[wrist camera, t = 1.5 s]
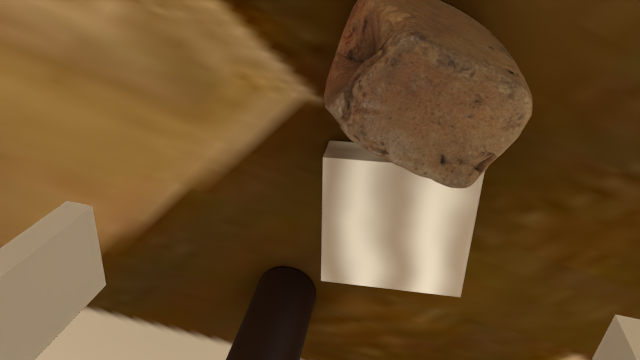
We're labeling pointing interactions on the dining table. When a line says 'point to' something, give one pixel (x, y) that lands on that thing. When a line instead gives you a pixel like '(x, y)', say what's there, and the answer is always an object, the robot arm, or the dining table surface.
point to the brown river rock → (426, 89)
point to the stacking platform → (393, 224)
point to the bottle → (276, 318)
